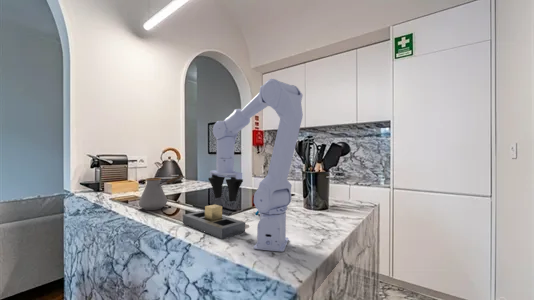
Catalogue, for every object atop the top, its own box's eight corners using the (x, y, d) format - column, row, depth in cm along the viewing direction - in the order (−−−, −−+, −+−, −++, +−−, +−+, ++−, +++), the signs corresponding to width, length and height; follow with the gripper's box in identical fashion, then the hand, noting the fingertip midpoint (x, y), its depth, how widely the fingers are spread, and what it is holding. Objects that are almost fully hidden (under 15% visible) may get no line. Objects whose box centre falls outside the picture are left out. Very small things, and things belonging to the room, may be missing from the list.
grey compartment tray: (245, 231, 79) (245, 222, 79) (221, 239, 72) (222, 228, 72) (205, 218, 94) (205, 210, 94) (182, 223, 87) (182, 214, 87)
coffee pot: (132, 209, 106) (132, 174, 106) (152, 204, 117) (152, 172, 117) (174, 214, 99) (174, 176, 99) (191, 208, 110) (192, 173, 110)
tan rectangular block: (222, 227, 84) (222, 206, 84) (212, 230, 81) (212, 208, 81) (214, 224, 86) (214, 204, 86) (204, 227, 83) (204, 206, 83)
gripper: (249, 158, 82) (249, 200, 82) (221, 157, 91) (221, 195, 91) (232, 159, 76) (232, 203, 76) (204, 157, 86) (204, 197, 86)
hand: (225, 199), depth 83 cm, fingers open, 7 cm apart
